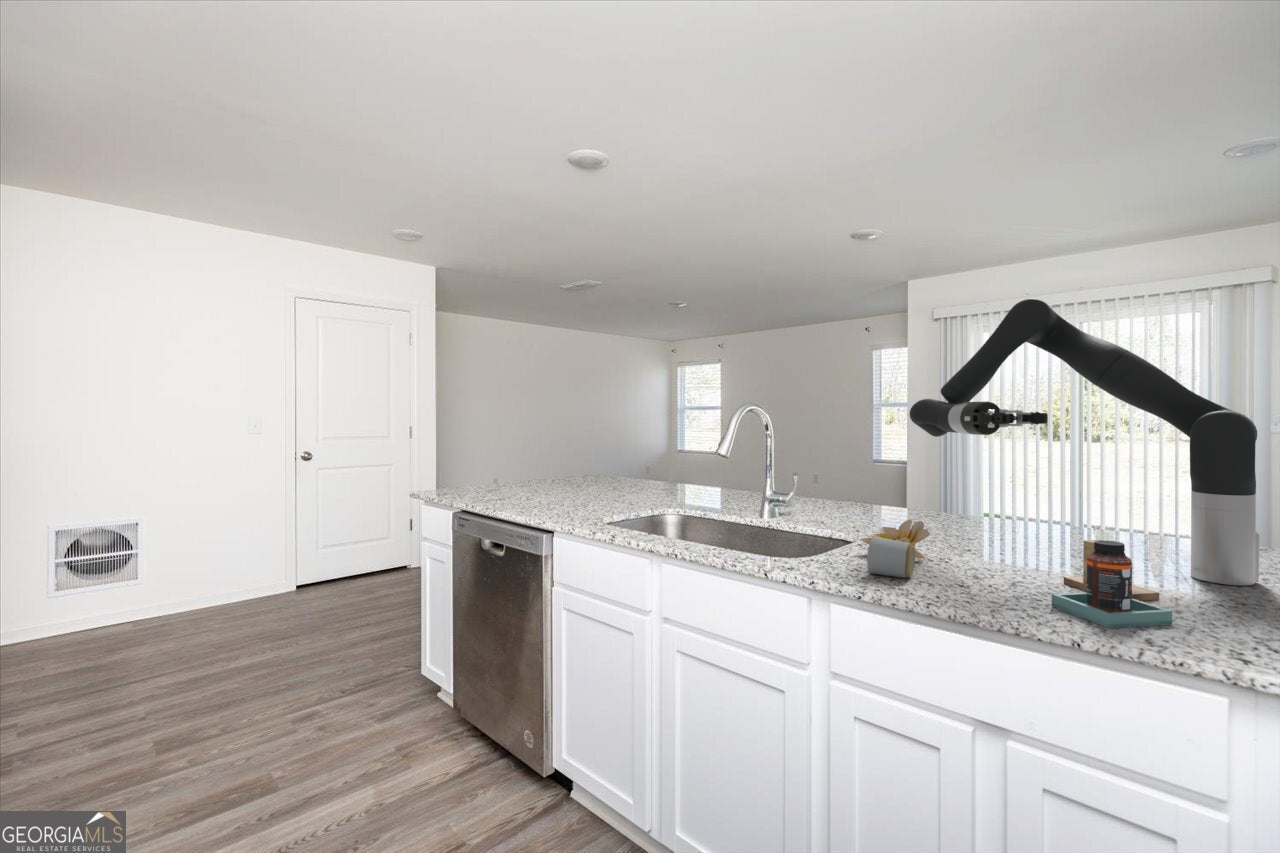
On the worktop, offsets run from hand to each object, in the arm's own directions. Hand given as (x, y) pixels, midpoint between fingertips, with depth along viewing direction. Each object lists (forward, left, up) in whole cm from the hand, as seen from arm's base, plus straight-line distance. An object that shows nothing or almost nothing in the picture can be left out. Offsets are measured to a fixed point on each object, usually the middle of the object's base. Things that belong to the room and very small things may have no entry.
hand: (1027, 418), depth 127 cm
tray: (+6, +25, -32) cm, 41 cm away
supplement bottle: (+6, +25, -32) cm, 41 cm away
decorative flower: (+18, -20, -32) cm, 42 cm away
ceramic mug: (+27, -5, -32) cm, 42 cm away
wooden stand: (-6, +13, -32) cm, 35 cm away
